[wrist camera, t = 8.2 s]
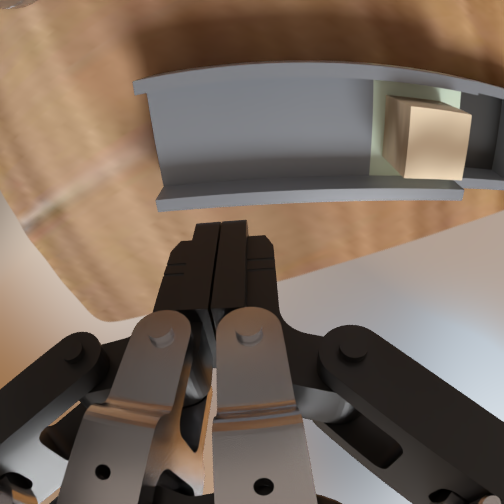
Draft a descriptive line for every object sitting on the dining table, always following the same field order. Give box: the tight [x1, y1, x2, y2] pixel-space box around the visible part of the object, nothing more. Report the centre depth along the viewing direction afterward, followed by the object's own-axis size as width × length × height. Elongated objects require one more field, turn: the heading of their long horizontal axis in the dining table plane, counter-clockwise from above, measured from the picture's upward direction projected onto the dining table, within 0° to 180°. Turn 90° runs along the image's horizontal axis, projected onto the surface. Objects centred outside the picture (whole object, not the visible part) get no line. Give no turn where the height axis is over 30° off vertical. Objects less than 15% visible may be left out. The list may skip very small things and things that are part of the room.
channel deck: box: [133, 60, 504, 212], centre depth 22 cm, size 10×33×6 cm, turn 94°
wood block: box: [382, 95, 472, 180], centre depth 20 cm, size 5×5×4 cm
